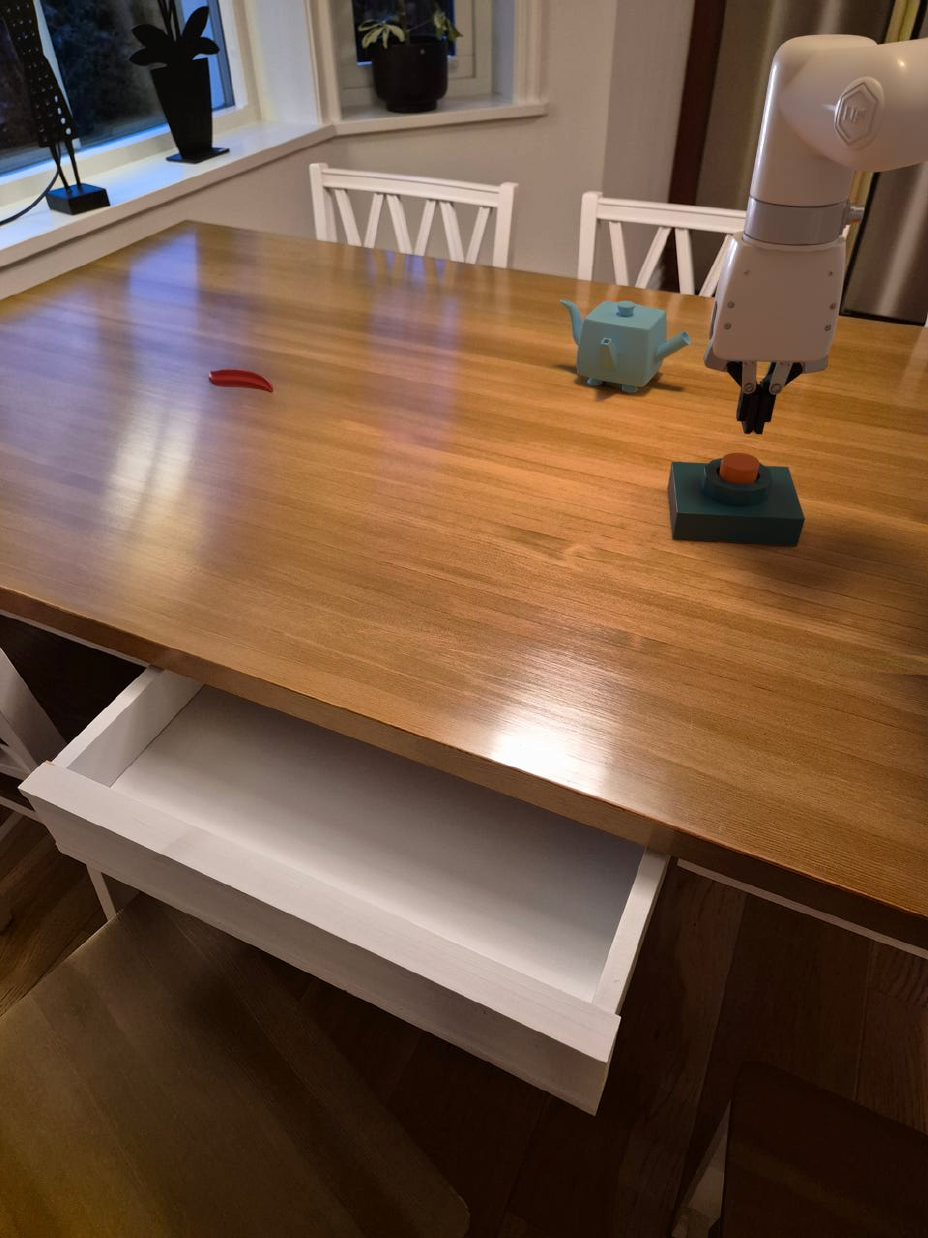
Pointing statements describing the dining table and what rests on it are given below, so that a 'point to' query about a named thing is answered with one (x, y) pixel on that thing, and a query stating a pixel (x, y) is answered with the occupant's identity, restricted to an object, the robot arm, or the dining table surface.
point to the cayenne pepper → (239, 379)
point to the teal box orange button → (734, 505)
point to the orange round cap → (739, 468)
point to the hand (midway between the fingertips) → (751, 427)
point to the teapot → (622, 343)
